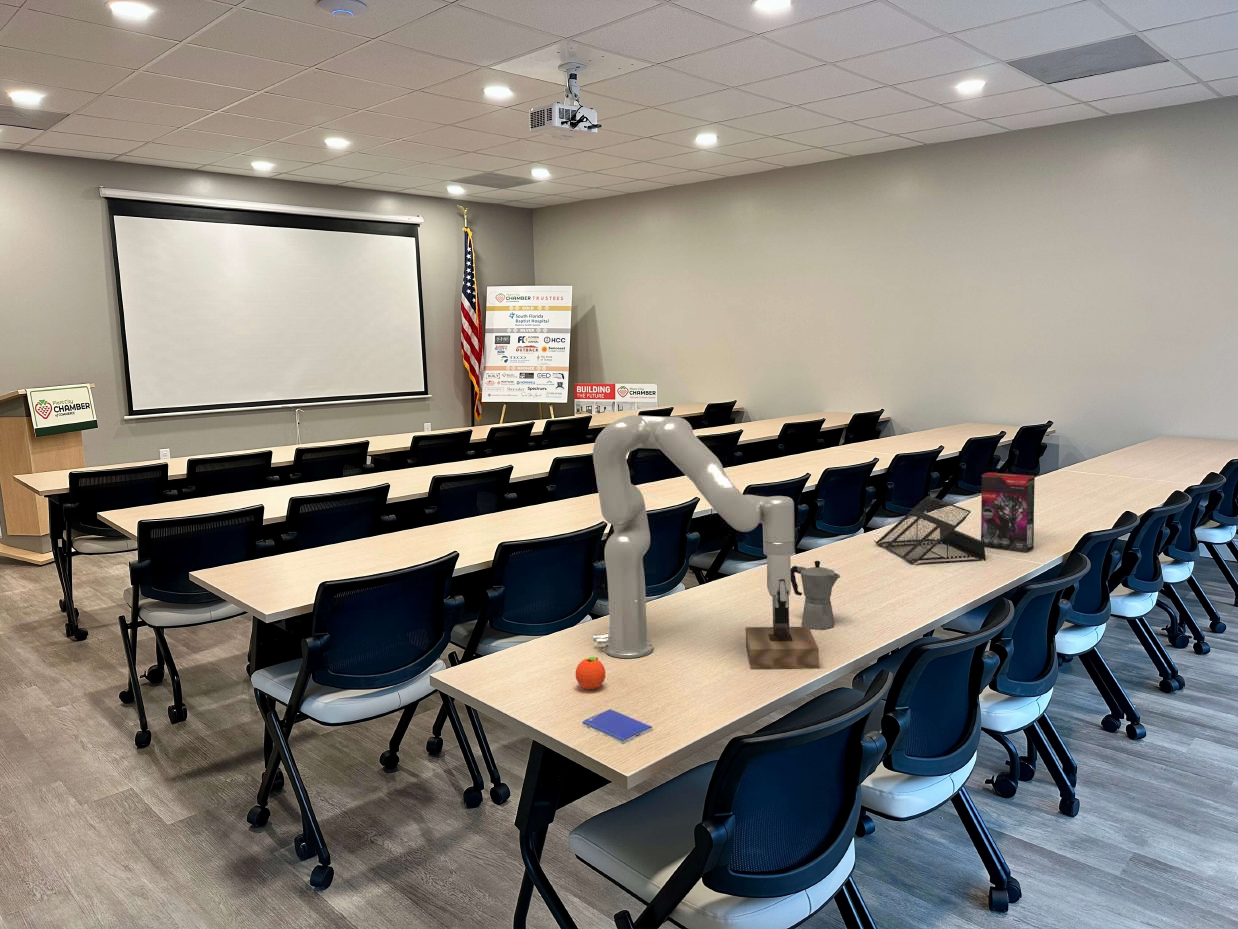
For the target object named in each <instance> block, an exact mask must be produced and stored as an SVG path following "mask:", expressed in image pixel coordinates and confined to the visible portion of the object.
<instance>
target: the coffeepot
mask: <svg viewBox="0 0 1238 929" xmlns="http://www.w3.org/2000/svg"><path fill="white" fill-rule="evenodd" d="M813 563H814V566H812V567H805V566H797V565H793V566H792V567H791V587H792V588H793V593H794V595H796V596H802V595H804V596H805V597H804V598H805V600H804V606H803V611H802V617H801V623H800V624H801V627H809V629H810V630H814V629H815V630H816V631H817V630H818V631H822V630H830V629H832V628H833V627H835V618H834V612H833V605H832V603H831V596H832V592H833V587H834V585H835V584H836V582H837V581H838V580H839V579H841V575H840V574H839V573H836V572H835V570H834V569H830V568H827V567H822V566H821V567H820V564H821V561H820V560H814V562H813ZM795 574H799V575H800V577H801V579H800V580H801V583H802V589H803V592H800V591H799V588H798V587H799V585H798V582H797V578H796V575H795ZM815 630H814V631H815Z"/></svg>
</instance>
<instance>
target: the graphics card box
mask: <svg viewBox="0 0 1238 929" xmlns="http://www.w3.org/2000/svg"><path fill="white" fill-rule="evenodd" d="M1035 478H1036V475H1027V474H1026V475H1025V474H1012V473H1001V472H1000V473H998V472H985V473H983V474H982V475H981V498H980V499H981V504H980V505H981V507H980V508H981V509H980V510H981V511H980V512H981V513H980V514H981V515H980V516H981V517H980V540H981V541H983V542H984V545H985V547H986V548H990V549H991V548H992V549H1001V550H1009V551H1017V552H1024V553H1026V552H1027V553H1028V552H1029V551H1032V550H1034V548H1035V547H1034V545H1035V544H1034V539H1035Z"/></svg>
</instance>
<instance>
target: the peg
mask: <svg viewBox="0 0 1238 929" xmlns="http://www.w3.org/2000/svg"><path fill="white" fill-rule="evenodd" d="M777 595H780V593H777ZM779 599H780V598H778V600H779ZM771 601H772V602H771V603H772V604H771V605H772V627H773V635H774V636H776V637H787V636H789V635H790V627H791V626H790V595H789V596H788V595H787V602H788V620H789V622H788V623H787V624H776V623H775V607H776V599H775V595H773V596H771Z"/></svg>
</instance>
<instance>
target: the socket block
mask: <svg viewBox="0 0 1238 929" xmlns="http://www.w3.org/2000/svg"><path fill="white" fill-rule="evenodd" d="M789 627H790V635H789V636H787V637H776V636H774V635H773V626H758V627H755V626H753V627H752V626H751V627H746V626H745V628H744V629H745V649H746V654H747V658H748V663H749V668H750V670H803V669H802V668H820V665H819V664H820V663H819V662H820V660H819V659H820V655H819V654H820V653H819V646H818V645H817V642H816V640H815V637H814V636H813V633H812V631H811V629H809V627H804V626H789Z"/></svg>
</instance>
